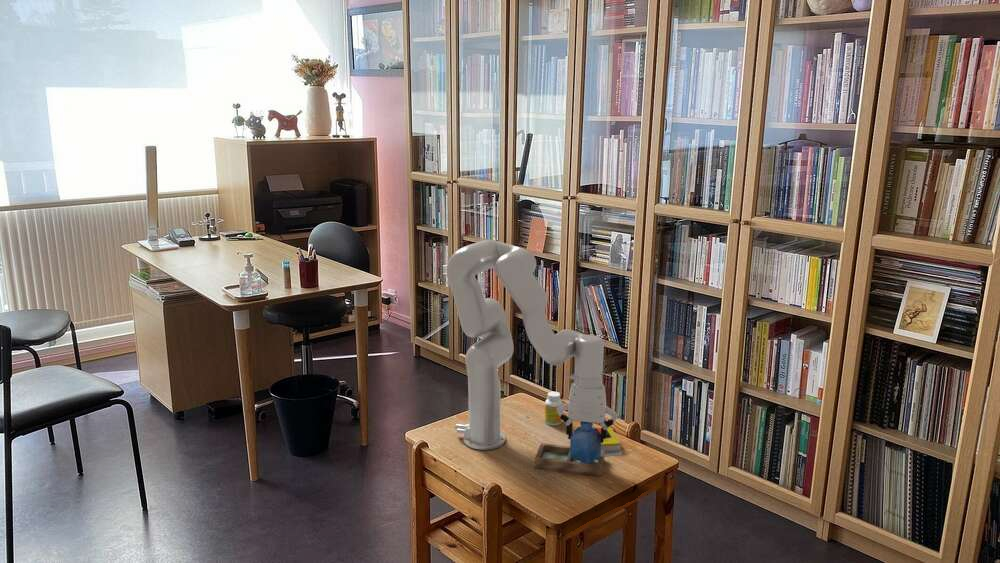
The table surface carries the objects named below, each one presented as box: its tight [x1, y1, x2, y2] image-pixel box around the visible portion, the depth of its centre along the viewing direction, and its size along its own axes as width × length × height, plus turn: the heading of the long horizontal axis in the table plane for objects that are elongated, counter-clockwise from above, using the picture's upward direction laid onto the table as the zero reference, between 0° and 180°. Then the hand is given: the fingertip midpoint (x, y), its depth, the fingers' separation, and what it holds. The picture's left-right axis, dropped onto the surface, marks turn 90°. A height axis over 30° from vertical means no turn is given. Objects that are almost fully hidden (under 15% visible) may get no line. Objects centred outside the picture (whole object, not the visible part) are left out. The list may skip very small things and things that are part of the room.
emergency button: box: [595, 426, 624, 457], centre depth 215 cm, size 9×4×15 cm
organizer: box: [533, 442, 605, 478], centre depth 203 cm, size 18×10×3 cm, turn 77°
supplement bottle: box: [544, 391, 563, 426], centre depth 229 cm, size 5×5×10 cm
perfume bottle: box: [569, 421, 601, 464], centre depth 200 cm, size 6×6×12 cm
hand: (586, 438), depth 200 cm, fingers closed on perfume bottle, 8 cm apart
